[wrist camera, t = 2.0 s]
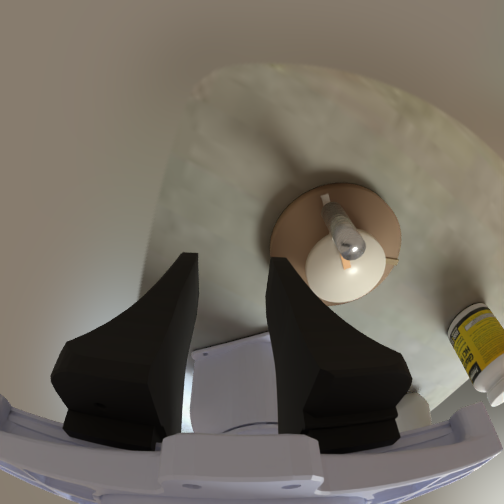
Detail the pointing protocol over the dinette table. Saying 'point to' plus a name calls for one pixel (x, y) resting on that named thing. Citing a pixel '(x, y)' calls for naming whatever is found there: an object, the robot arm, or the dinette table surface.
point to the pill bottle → (480, 349)
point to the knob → (343, 259)
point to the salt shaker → (412, 412)
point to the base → (314, 228)
